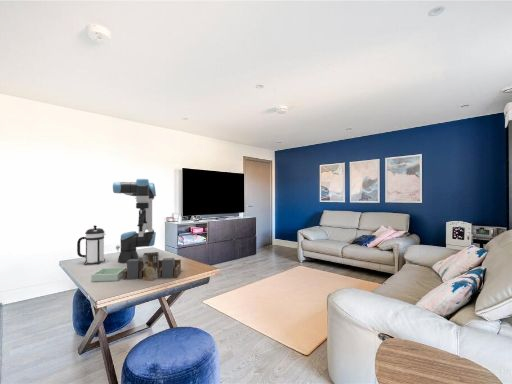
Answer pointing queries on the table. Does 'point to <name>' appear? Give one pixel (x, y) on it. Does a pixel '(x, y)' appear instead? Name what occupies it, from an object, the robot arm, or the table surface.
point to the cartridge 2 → (168, 267)
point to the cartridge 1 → (133, 268)
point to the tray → (107, 274)
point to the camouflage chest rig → (176, 271)
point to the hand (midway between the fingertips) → (142, 234)
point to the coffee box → (150, 265)
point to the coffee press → (93, 245)
